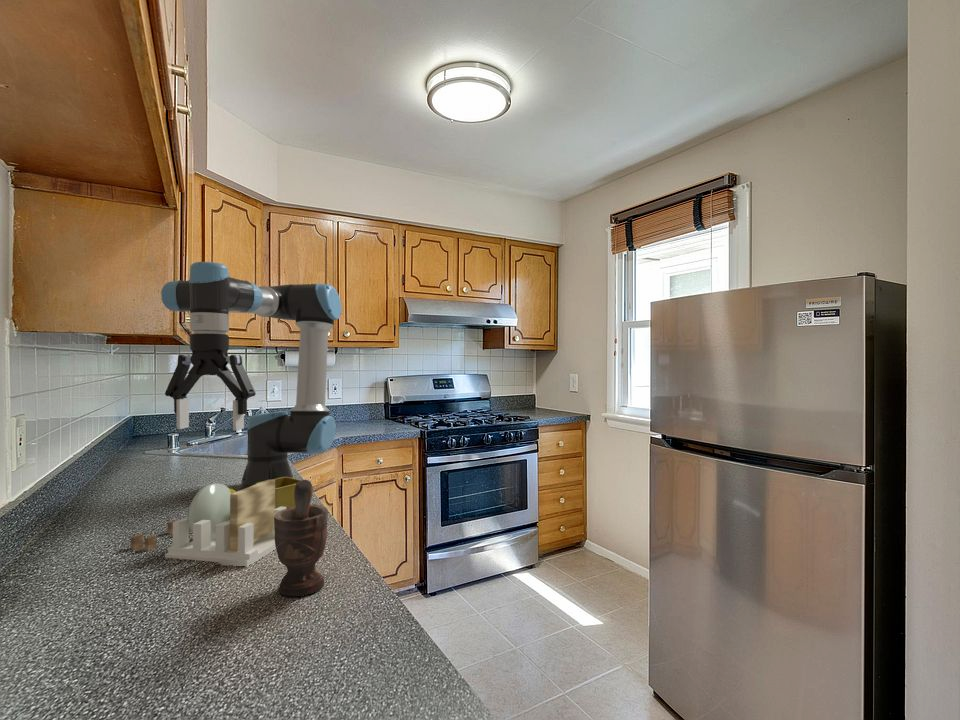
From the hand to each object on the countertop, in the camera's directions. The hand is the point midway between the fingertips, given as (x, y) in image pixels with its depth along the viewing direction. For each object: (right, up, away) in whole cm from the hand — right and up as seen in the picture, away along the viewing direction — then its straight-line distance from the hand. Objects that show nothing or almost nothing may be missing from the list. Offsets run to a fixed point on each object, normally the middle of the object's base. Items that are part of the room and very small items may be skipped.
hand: (210, 428), depth 105 cm
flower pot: (+10, -25, +14) cm, 30 cm away
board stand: (-8, -24, -3) cm, 26 cm away
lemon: (-3, -24, +12) cm, 27 cm away
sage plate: (+3, -22, -6) cm, 23 cm away
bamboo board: (+13, -22, -7) cm, 27 cm away
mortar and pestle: (+30, -24, -25) cm, 46 cm away
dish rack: (+8, -24, -7) cm, 26 cm away
